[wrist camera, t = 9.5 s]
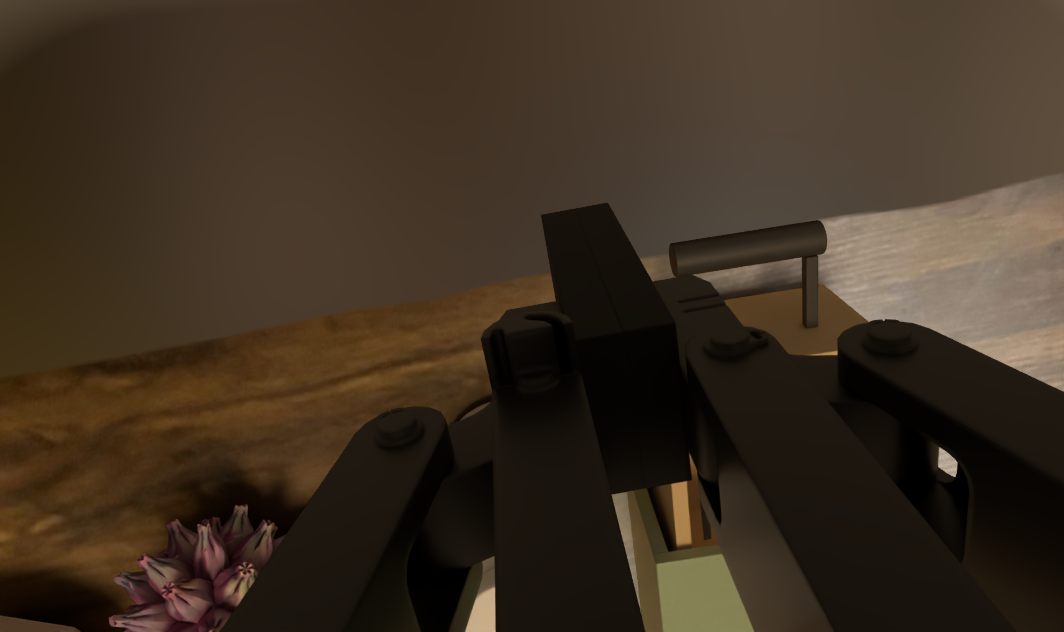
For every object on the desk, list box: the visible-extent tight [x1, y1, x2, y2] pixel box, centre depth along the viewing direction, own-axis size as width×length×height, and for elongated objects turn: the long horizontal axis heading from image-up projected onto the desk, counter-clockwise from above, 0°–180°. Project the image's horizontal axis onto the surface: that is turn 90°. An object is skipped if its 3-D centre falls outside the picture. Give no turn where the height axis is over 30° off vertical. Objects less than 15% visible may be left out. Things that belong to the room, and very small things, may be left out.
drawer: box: [651, 220, 868, 552], centre depth 39 cm, size 19×11×8 cm, turn 8°
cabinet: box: [627, 488, 754, 632], centre depth 44 cm, size 15×13×10 cm
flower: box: [109, 504, 286, 632], centre depth 42 cm, size 12×12×12 cm
